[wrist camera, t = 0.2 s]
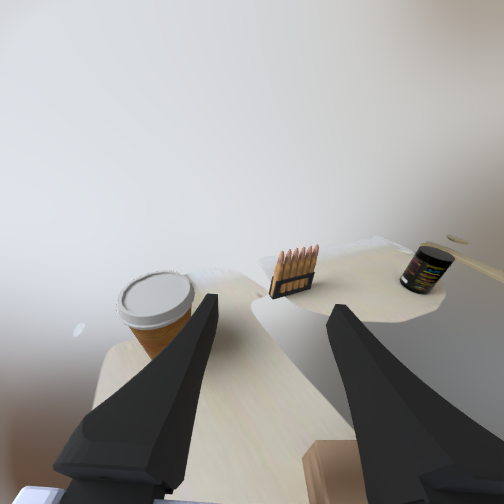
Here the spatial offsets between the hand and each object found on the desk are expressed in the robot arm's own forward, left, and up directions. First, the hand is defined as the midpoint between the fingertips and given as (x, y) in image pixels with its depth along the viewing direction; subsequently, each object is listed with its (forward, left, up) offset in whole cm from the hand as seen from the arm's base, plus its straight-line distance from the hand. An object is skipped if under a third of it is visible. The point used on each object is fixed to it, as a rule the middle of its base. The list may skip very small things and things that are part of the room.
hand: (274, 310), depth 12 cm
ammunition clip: (+25, -10, -21) cm, 34 cm away
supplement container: (+29, -44, -21) cm, 57 cm away
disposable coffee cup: (+11, +13, -21) cm, 27 cm away
